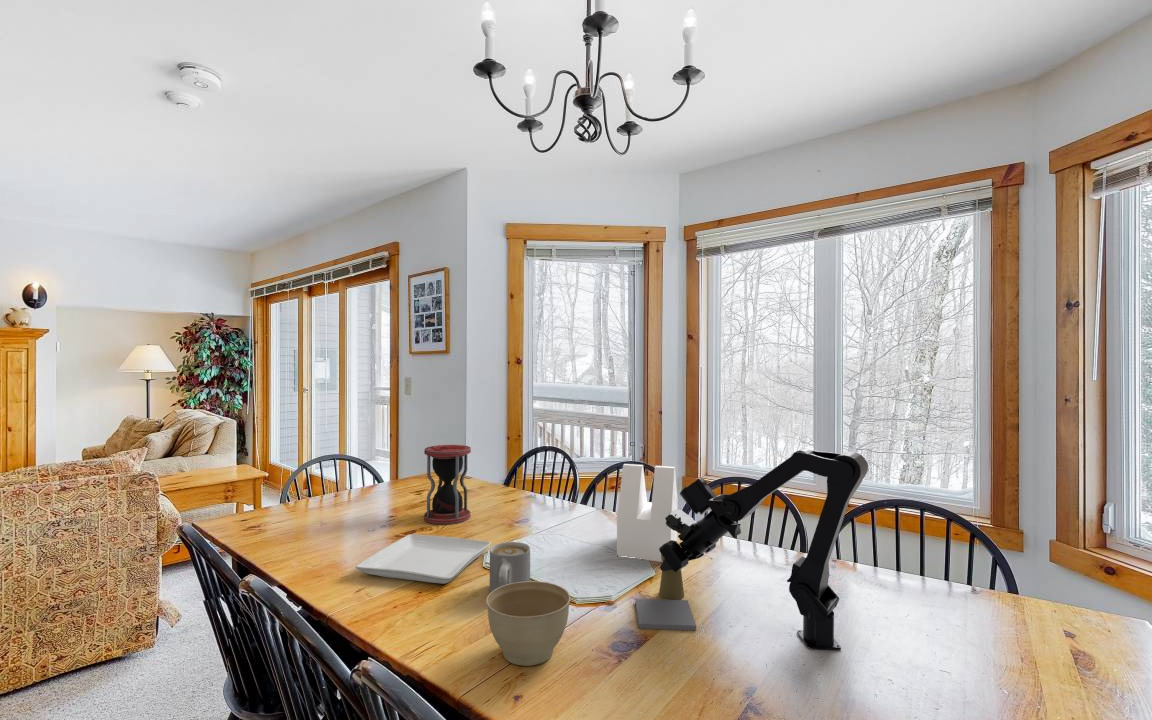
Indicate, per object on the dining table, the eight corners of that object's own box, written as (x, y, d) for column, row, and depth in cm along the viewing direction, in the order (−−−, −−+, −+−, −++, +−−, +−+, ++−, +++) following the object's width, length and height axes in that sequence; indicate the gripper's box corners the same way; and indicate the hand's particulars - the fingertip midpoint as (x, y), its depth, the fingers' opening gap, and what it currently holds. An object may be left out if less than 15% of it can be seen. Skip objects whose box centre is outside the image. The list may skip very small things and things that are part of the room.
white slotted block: (670, 563, 152) (671, 474, 152) (616, 557, 156) (617, 470, 156) (677, 541, 170) (677, 461, 170) (628, 536, 174) (629, 458, 174)
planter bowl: (585, 645, 107) (585, 591, 107) (538, 688, 93) (539, 625, 93) (519, 625, 115) (520, 574, 115) (468, 661, 102) (468, 603, 102)
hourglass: (457, 509, 204) (457, 442, 204) (478, 519, 191) (479, 448, 191) (416, 516, 193) (416, 447, 193) (436, 527, 181) (436, 453, 181)
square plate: (352, 580, 139) (353, 565, 139) (409, 544, 166) (410, 532, 166) (449, 591, 133) (449, 576, 133) (492, 553, 159) (492, 539, 159)
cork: (684, 601, 127) (684, 554, 127) (658, 598, 128) (658, 552, 128) (684, 590, 133) (684, 546, 133) (659, 588, 134) (659, 544, 134)
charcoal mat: (696, 630, 114) (696, 625, 114) (638, 628, 114) (638, 623, 114) (687, 604, 126) (687, 600, 126) (635, 602, 126) (635, 598, 126)
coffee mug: (499, 578, 140) (500, 540, 140) (535, 583, 137) (536, 544, 137) (475, 600, 127) (476, 558, 127) (515, 606, 124) (515, 563, 124)
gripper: (704, 493, 135) (665, 528, 143) (667, 509, 121) (625, 547, 128) (734, 531, 130) (692, 566, 138) (699, 552, 116) (654, 589, 123)
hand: (666, 566), depth 132 cm, fingers closed on cork, 5 cm apart
